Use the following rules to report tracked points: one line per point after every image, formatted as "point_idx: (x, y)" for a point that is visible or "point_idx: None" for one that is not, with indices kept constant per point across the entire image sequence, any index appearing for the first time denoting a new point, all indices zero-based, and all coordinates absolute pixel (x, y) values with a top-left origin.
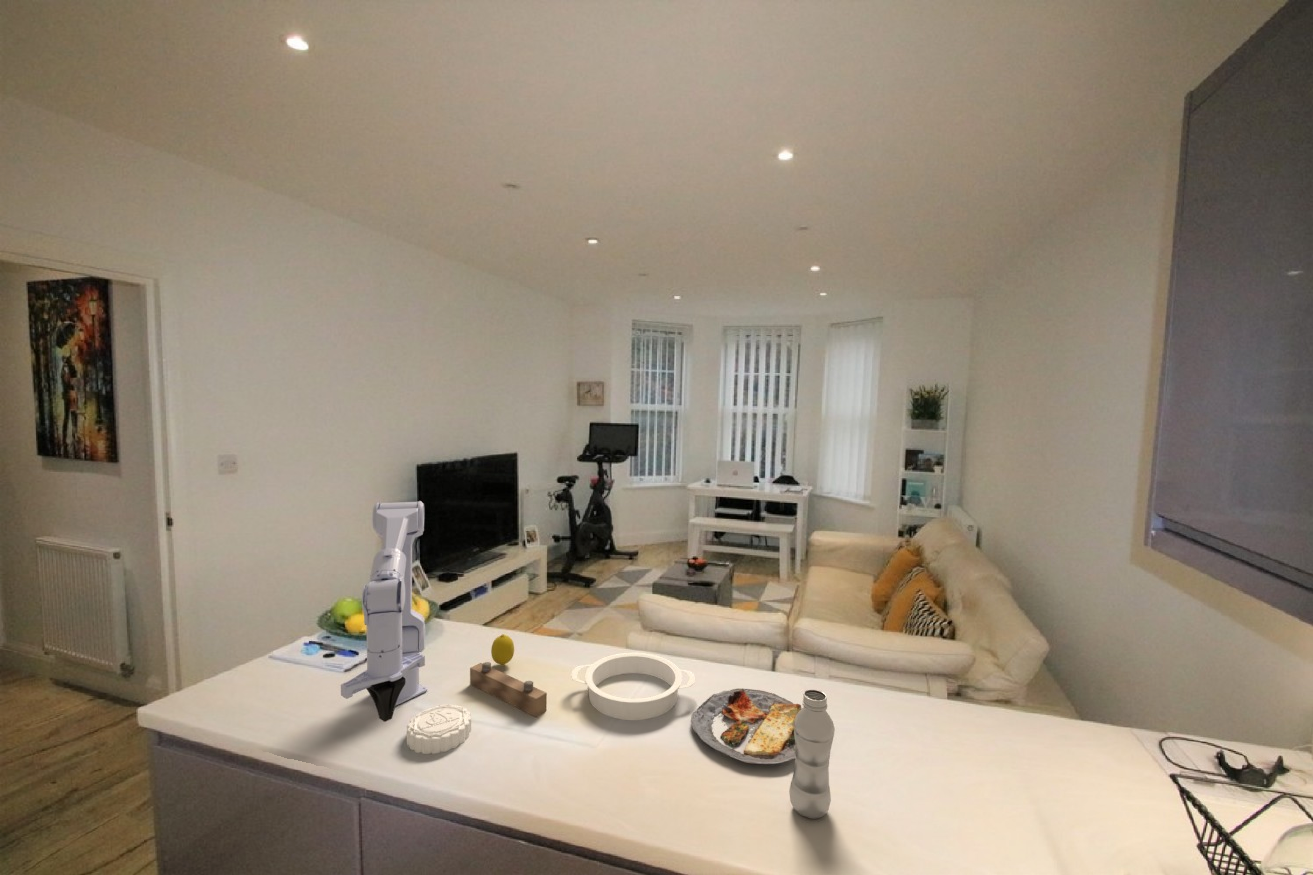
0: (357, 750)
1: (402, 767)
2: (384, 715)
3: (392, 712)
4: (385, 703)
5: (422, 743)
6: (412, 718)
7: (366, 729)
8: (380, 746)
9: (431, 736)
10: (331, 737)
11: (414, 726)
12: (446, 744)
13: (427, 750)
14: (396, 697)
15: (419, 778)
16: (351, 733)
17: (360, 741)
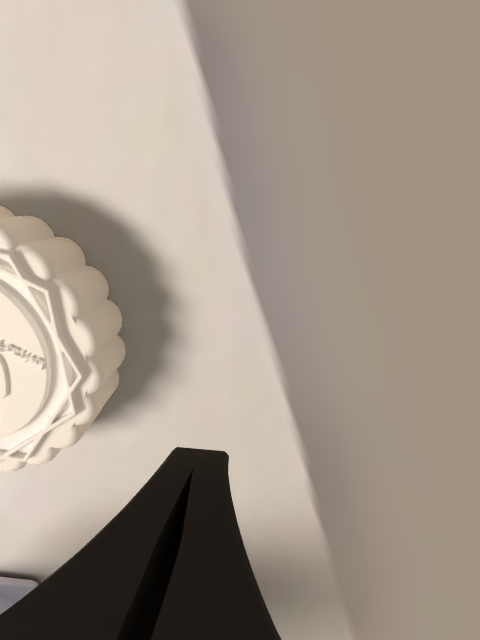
0: (243, 489)
1: (205, 282)
2: (228, 486)
3: (165, 471)
4: (225, 576)
5: (90, 302)
6: (37, 461)
7: None
8: None
9: (43, 284)
10: None
11: (60, 406)
12: (19, 219)
13: (92, 272)
14: (81, 573)
15: (204, 160)
16: None
17: None
